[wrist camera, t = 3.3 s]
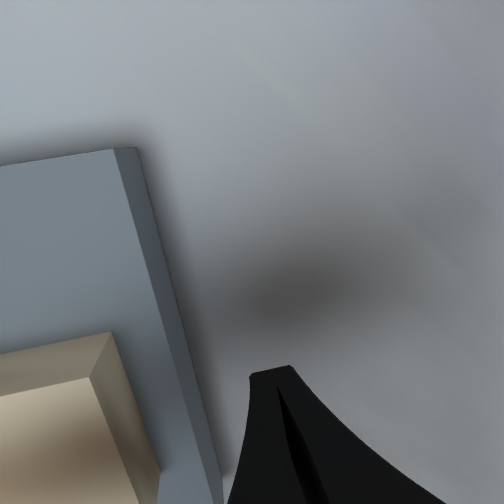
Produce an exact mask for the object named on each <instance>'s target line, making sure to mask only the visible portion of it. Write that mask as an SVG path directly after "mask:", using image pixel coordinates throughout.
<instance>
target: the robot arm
mask: <svg viewBox="0 0 504 504" xmlns="http://www.w3.org/2000/svg"><path fill="white" fill-rule="evenodd" d="M249 380H250V400H249V410H248V417H247V424H246V431H245V436H244V441H243V445H242V450H241V455H240V459H239V463H238V467H237V471H236V475H235V479H234V482H233V486H232V489H231V493H230V496H229V499H228V503H227V504H446V503H444V502H443V501H441V500H440V499H439V498H437V497H436V496H434V495H433V494H431V493H430V492H428V491H427V490H425V489H424V488H422V487H421V486H420V485H418V484H417V483H415V482H414V481H412V480H411V479H409V478H408V477H407V476H405V475H404V474H403V473H401V472H400V471H399V470H397V469H396V468H395V467H393V466H392V465H391V464H390V463H388V462H387V461H386V460H384V459H383V458H382V457H381V456H380V455H378V454H377V453H376V452H375V451H373V450H372V449H371V448H370V447H369V446H367V445H366V444H365V443H364V442H363V441H362V440H360V439H359V438H358V437H357V436H356V435H355V434H354V433H353V432H352V431H351V430H349V429H348V428H347V427H346V426H345V425H344V424H343V423H342V422H341V421H340V420H339V419H338V418H337V417H336V416H335V415H334V414H333V413H332V412H331V411H330V410H329V409H328V408H327V407H326V406H325V405H324V404H323V403H322V402H321V401H320V400H319V399H318V397H317V396H316V395H315V394H314V393H313V392H312V391H311V389H310V388H309V387H308V386H307V385H306V384H305V382H304V381H303V380H302V379H301V377H300V376H299V375H298V373H297V372H296V371H295V369H294V368H293V367H292V366H290V365H287V366H282V367H278V368H273V369H269V370H265V371H260V372H256V373H252V374H251V375H250V377H249Z"/></svg>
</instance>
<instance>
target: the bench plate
mask: <svg viewBox="0 0 504 504" xmlns="http://www.w3.org/2000/svg"><path fill="white" fill-rule="evenodd" d="M106 332H112V335H113V338H114V341H115V344H116V347H117V350H118V352H119V355H120V358H121V361H122V364H123V367H124V370H125V372H126V375H127V378H128V381H129V384H130V387H131V390H132V392H133V395H134V398H135V401H136V404H137V407H138V410H139V413H140V415H141V418H142V421H143V424H144V427H145V430H146V433H147V435H148V438H149V441H150V444H151V447H152V450H153V453H154V455H155V458H156V461H157V464H158V467H159V470H160V473H161V475H160V482H159V490H158V498H157V504H224V499H223V482H222V475H221V471H220V467H219V464H218V460H217V456H216V452H215V448H214V444H213V441H212V437H211V433H210V429H209V425H208V421H207V417H206V414H205V410H204V406H203V402H202V398H201V394H200V390H199V387H198V383H197V379H196V375H195V371H194V367H193V364H192V360H191V356H190V352H189V348H188V344H187V340H186V337H185V333H184V329H183V325H182V321H181V317H180V313H179V310H178V306H177V302H176V298H175V294H174V290H173V287H172V283H171V279H170V275H169V271H168V267H167V263H166V260H165V256H164V252H163V248H162V244H161V240H160V237H159V233H158V229H157V225H156V221H155V217H154V213H153V210H152V206H151V202H150V198H149V194H148V190H147V186H146V183H145V179H144V175H143V171H142V167H141V163H140V160H139V156H138V152H137V148H113V149H106V150H100V151H94V152H87V153H81V154H75V155H68V156H62V157H56V158H50V159H43V160H37V161H31V162H24V163H18V164H12V165H5V166H0V354H5V353H10V352H14V351H19V350H24V349H29V348H34V347H39V346H44V345H48V344H53V343H58V342H63V341H68V340H73V339H77V338H82V337H87V336H92V335H97V334H102V333H106Z"/></svg>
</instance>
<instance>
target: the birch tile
mask: <svg viewBox="0 0 504 504" xmlns="http://www.w3.org/2000/svg"><path fill="white" fill-rule="evenodd" d="M160 475H161V473H160V470H159V467H158V464H157V461H156V458H155V455H154V453H153V450H152V447H151V444H150V441H149V438H148V435H147V433H146V430H145V427H144V424H143V421H142V418H141V415H140V413H139V410H138V407H137V404H136V401H135V398H134V395H133V392H132V390H131V387H130V384H129V381H128V378H127V375H126V372H125V370H124V367H123V364H122V361H121V358H120V355H119V352H118V350H117V347H116V344H115V341H114V338H113V335H112V332H106V333H102V334H97V335H92V336H87V337H82V338H77V339H73V340H68V341H63V342H58V343H53V344H48V345H44V346H39V347H34V348H29V349H24V350H19V351H14V352H10V353H5V354H0V504H157V498H158V490H159V482H160Z"/></svg>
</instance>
